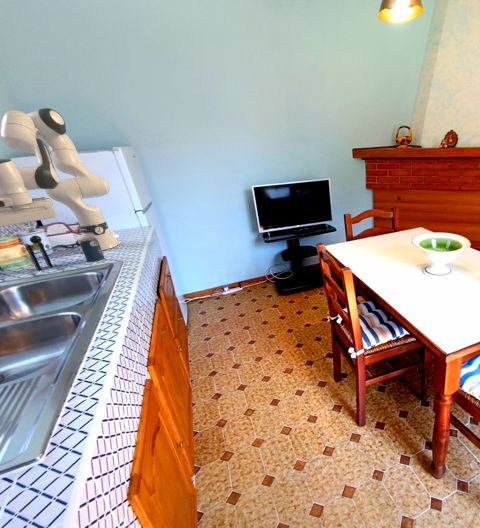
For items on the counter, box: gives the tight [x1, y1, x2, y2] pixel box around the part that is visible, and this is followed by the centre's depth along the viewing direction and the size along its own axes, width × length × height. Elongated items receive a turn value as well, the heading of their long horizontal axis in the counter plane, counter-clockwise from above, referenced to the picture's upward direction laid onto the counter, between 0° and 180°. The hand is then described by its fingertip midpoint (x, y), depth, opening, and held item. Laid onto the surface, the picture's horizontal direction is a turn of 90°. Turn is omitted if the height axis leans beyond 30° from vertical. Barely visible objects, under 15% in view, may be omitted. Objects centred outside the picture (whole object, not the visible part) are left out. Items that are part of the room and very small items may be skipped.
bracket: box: [23, 241, 54, 272], centre depth 140 cm, size 12×9×14 cm
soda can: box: [80, 238, 106, 263], centre depth 148 cm, size 7×7×12 cm
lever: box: [29, 235, 42, 252], centre depth 135 cm, size 13×4×4 cm, turn 57°
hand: (31, 232), depth 130 cm, fingers closed
